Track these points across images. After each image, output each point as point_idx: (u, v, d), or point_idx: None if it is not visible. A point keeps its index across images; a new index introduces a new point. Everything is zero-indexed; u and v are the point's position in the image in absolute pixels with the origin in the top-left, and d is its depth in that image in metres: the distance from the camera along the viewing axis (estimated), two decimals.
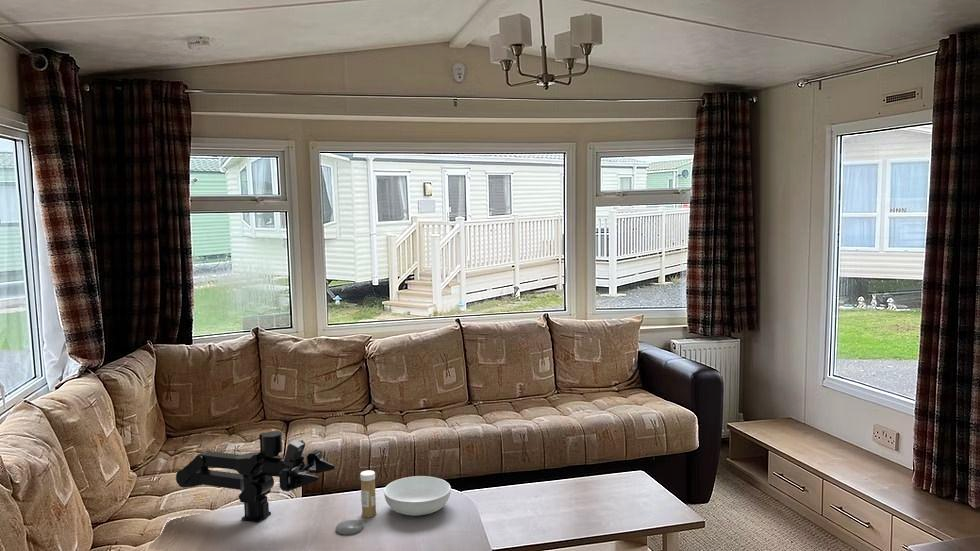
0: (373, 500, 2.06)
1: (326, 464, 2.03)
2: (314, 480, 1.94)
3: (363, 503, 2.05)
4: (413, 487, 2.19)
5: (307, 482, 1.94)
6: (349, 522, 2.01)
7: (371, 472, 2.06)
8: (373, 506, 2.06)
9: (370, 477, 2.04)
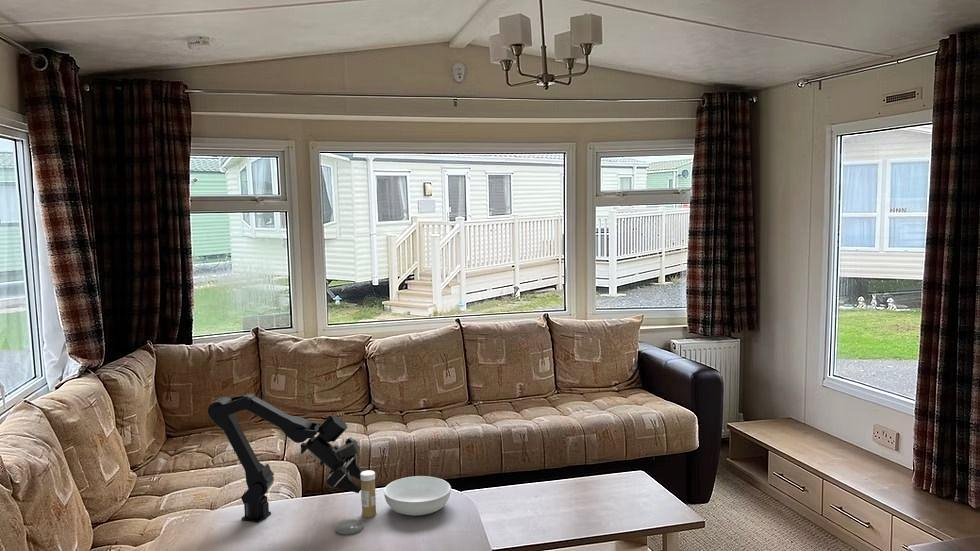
0: (373, 500, 2.06)
1: (359, 472, 2.11)
2: (355, 491, 2.02)
3: (363, 503, 2.05)
4: (413, 487, 2.19)
5: (349, 489, 2.01)
6: (349, 522, 2.01)
7: (371, 472, 2.06)
8: (373, 506, 2.06)
9: (370, 477, 2.04)
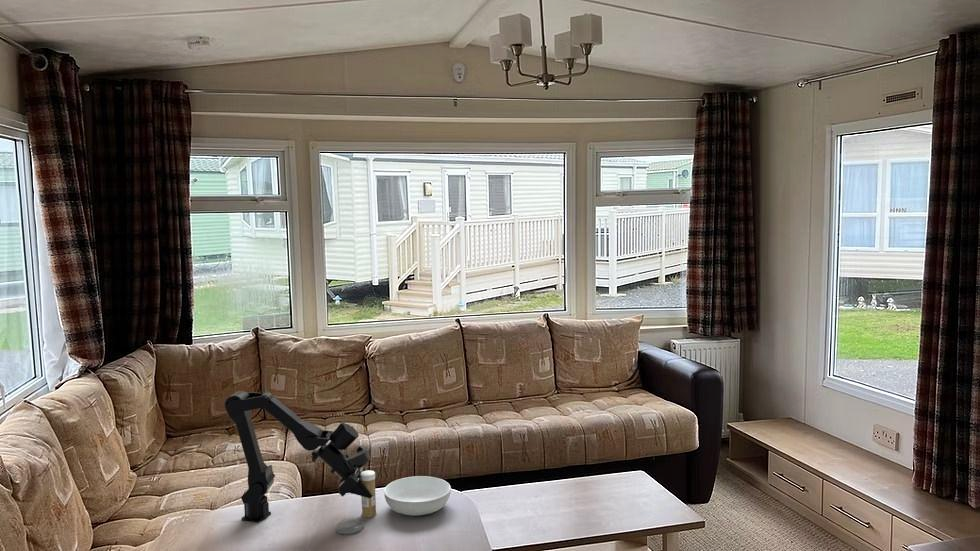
0: (373, 500, 2.06)
1: None
2: (368, 496, 2.04)
3: (363, 503, 2.05)
4: (413, 487, 2.19)
5: (361, 494, 2.03)
6: (349, 522, 2.01)
7: (371, 472, 2.06)
8: (373, 506, 2.06)
9: (370, 477, 2.04)
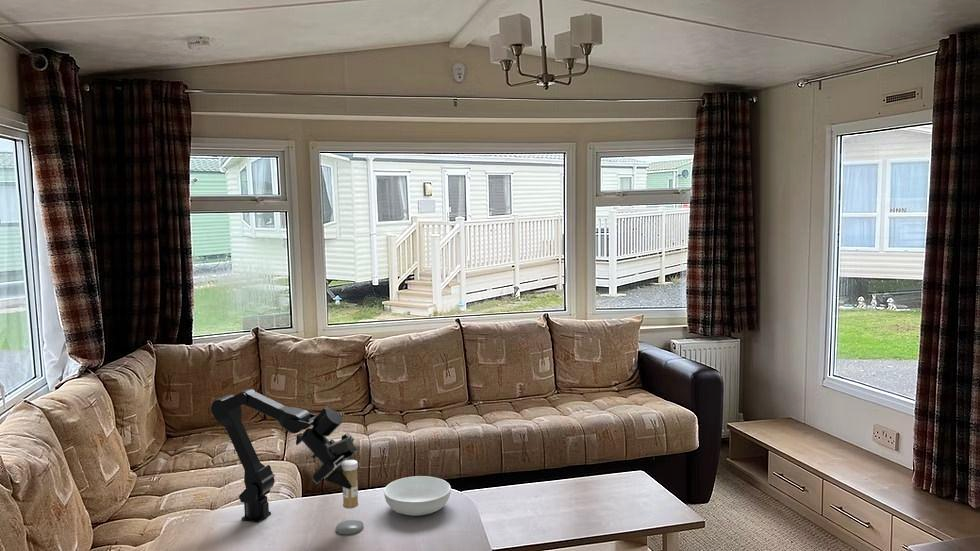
0: (353, 491, 1.97)
1: None
2: (346, 487, 1.95)
3: (343, 493, 1.97)
4: (413, 487, 2.19)
5: (340, 484, 1.95)
6: (349, 522, 2.01)
7: (353, 462, 1.97)
8: (353, 498, 1.97)
9: (350, 467, 1.95)
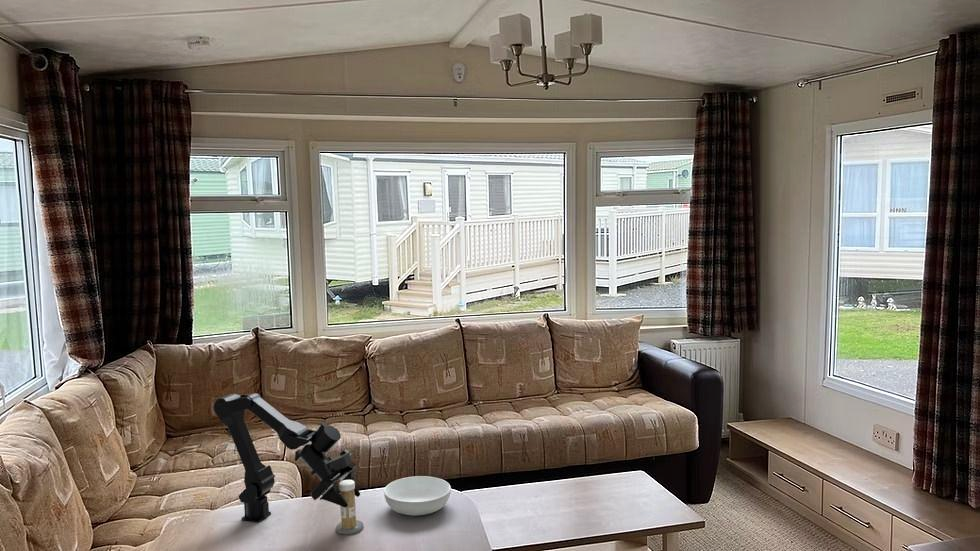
0: (351, 511, 1.96)
1: None
2: (343, 505, 1.93)
3: (341, 513, 1.96)
4: (413, 487, 2.19)
5: (336, 502, 1.93)
6: None
7: (350, 482, 1.97)
8: (351, 518, 1.96)
9: (347, 488, 1.95)
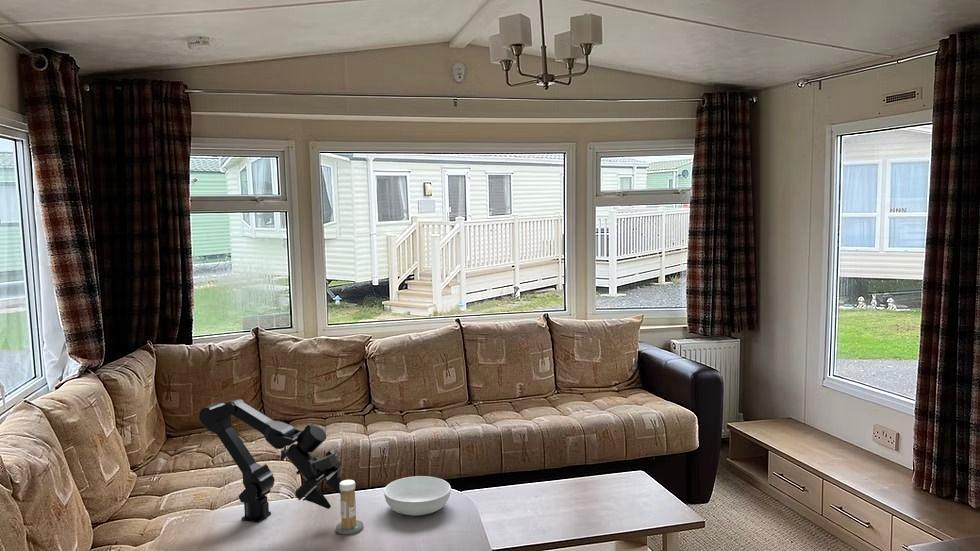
0: (351, 511, 1.96)
1: None
2: (326, 506, 1.94)
3: (341, 513, 1.96)
4: (413, 487, 2.19)
5: (319, 503, 1.94)
6: None
7: (351, 482, 1.97)
8: (351, 518, 1.96)
9: (347, 487, 1.95)
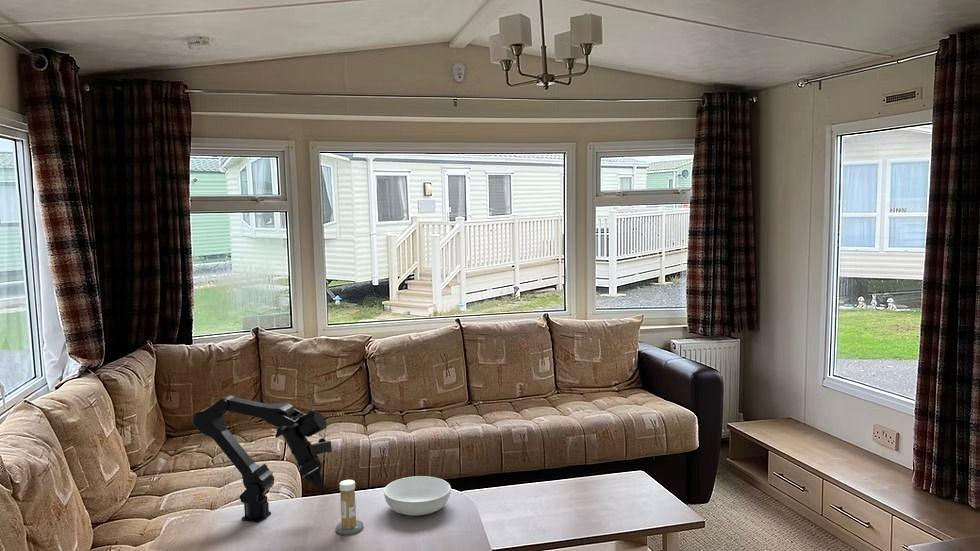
0: (351, 511, 1.96)
1: None
2: (320, 488, 1.98)
3: (341, 513, 1.96)
4: (413, 487, 2.19)
5: (315, 484, 1.97)
6: None
7: (351, 482, 1.97)
8: (351, 518, 1.96)
9: (347, 487, 1.95)
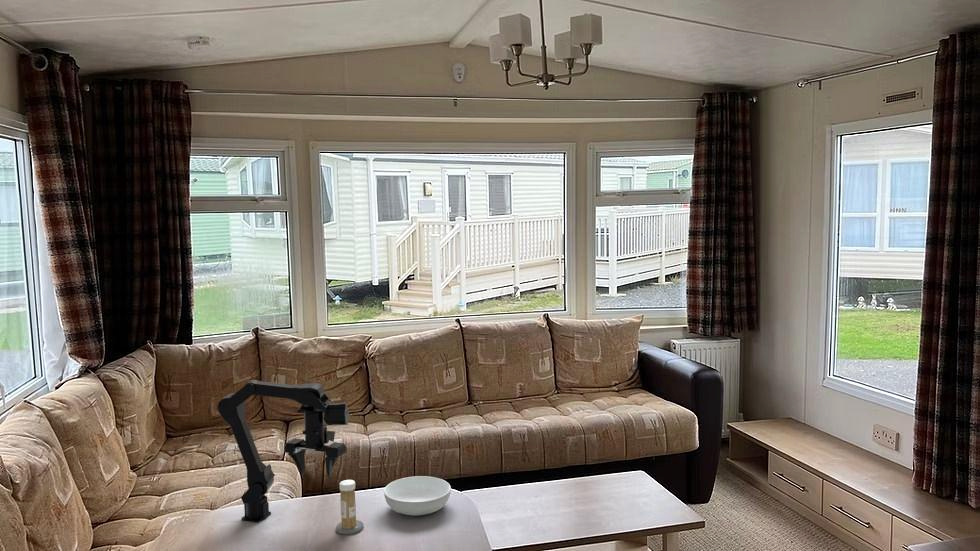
0: (351, 512, 1.96)
1: (304, 463, 2.08)
2: (329, 474, 2.04)
3: (341, 513, 1.96)
4: (413, 487, 2.19)
5: (330, 468, 2.03)
6: None
7: (351, 482, 1.97)
8: (351, 518, 1.96)
9: (347, 487, 1.95)
